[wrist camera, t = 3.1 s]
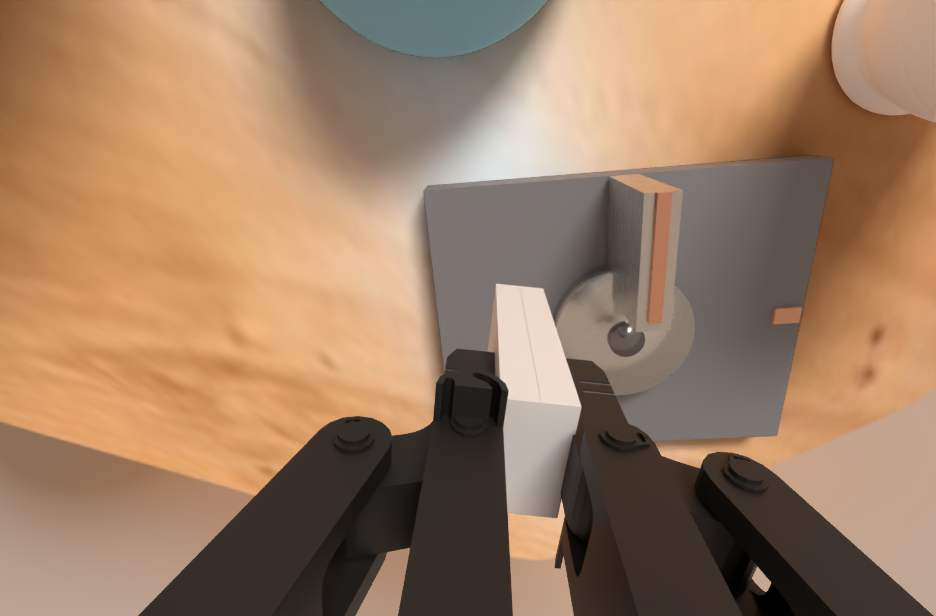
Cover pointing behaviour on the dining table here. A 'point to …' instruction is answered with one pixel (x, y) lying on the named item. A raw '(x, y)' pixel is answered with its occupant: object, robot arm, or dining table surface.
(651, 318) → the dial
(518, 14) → the sugar bowl
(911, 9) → the jar
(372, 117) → the dining table surface
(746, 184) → the board
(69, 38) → the dining table surface
